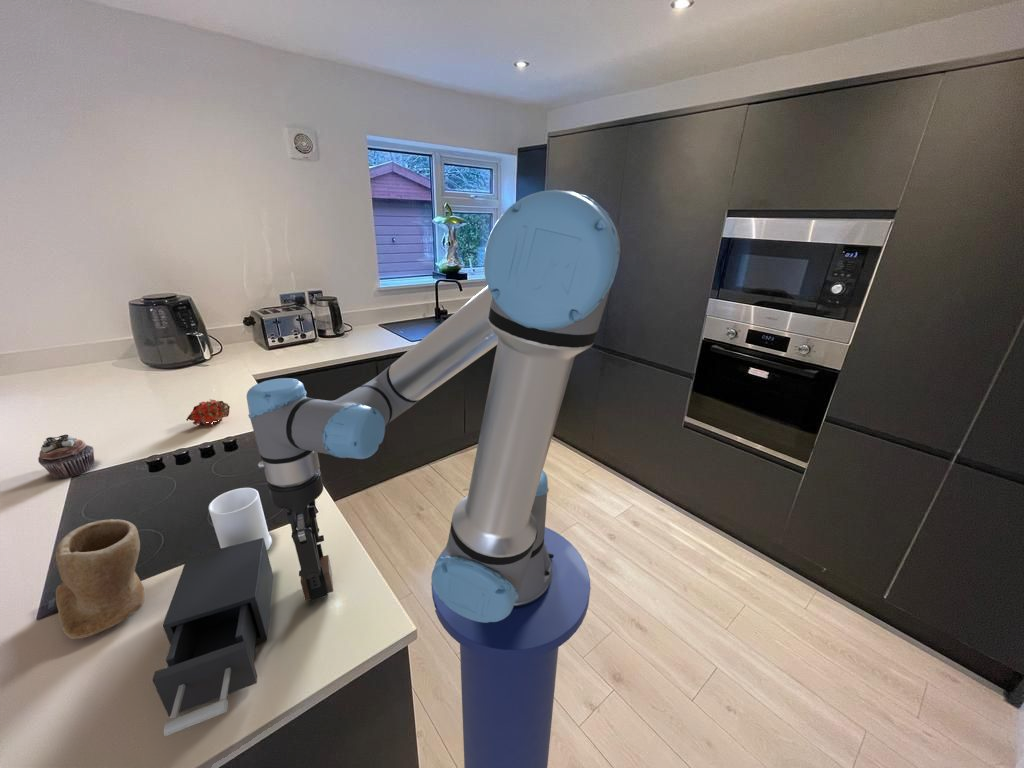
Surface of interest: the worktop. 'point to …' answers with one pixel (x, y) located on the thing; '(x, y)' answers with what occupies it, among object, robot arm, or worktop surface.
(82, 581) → the stone cup
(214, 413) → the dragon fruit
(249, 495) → the mug
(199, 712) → the drawer
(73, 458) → the cupcake
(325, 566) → the block
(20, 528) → the worktop surface
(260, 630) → the cabinet
